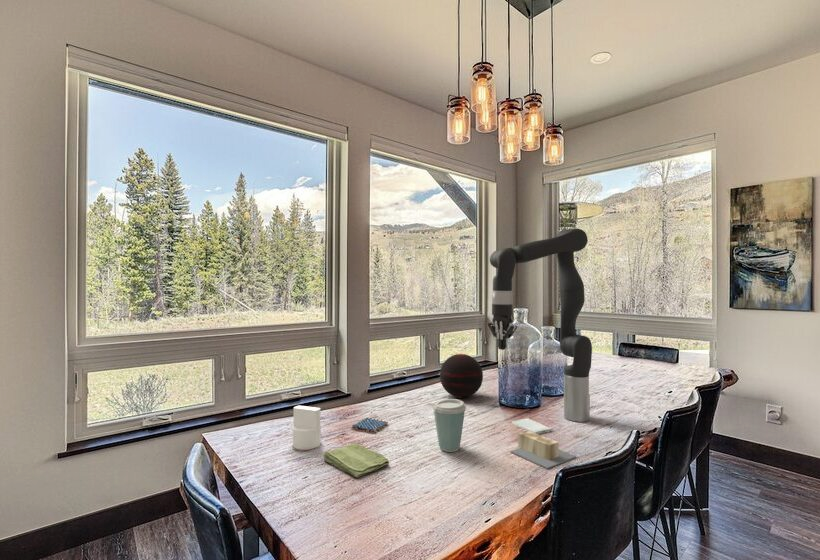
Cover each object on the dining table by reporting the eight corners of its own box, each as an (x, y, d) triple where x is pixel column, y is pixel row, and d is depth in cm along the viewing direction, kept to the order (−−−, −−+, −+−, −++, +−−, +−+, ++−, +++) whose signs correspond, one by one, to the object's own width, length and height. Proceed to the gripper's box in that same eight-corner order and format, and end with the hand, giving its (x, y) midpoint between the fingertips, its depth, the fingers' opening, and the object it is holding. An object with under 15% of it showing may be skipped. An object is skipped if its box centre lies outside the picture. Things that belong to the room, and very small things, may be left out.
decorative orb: (463, 406, 180) (463, 360, 180) (430, 396, 195) (431, 353, 195) (491, 397, 193) (491, 354, 193) (459, 388, 208) (459, 349, 208)
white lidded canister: (325, 440, 140) (325, 405, 140) (311, 451, 132) (311, 413, 132) (302, 437, 143) (303, 402, 143) (287, 447, 135) (287, 410, 134)
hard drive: (511, 421, 158) (535, 431, 147) (528, 417, 161) (552, 428, 150) (511, 425, 158) (535, 436, 147) (528, 422, 161) (552, 432, 150)
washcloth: (356, 482, 113) (356, 470, 113) (320, 461, 125) (321, 450, 125) (392, 466, 122) (392, 456, 122) (355, 449, 134) (355, 439, 134)
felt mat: (538, 442, 139) (538, 441, 139) (575, 457, 128) (575, 456, 128) (510, 452, 131) (510, 451, 131) (547, 469, 120) (547, 467, 120)
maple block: (527, 430, 137) (558, 442, 128) (527, 443, 137) (558, 456, 128) (518, 433, 135) (549, 445, 125) (518, 446, 135) (549, 460, 125)
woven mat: (349, 430, 151) (349, 425, 151) (365, 421, 160) (366, 416, 160) (374, 435, 146) (374, 430, 146) (389, 426, 156) (389, 421, 156)
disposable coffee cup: (443, 457, 127) (444, 409, 127) (426, 445, 137) (426, 399, 137) (472, 451, 132) (472, 404, 132) (453, 439, 142) (453, 395, 142)
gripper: (522, 303, 151) (522, 350, 151) (496, 301, 162) (495, 346, 162) (508, 304, 147) (508, 352, 147) (482, 302, 158) (482, 347, 158)
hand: (501, 349), depth 154 cm, fingers closed
